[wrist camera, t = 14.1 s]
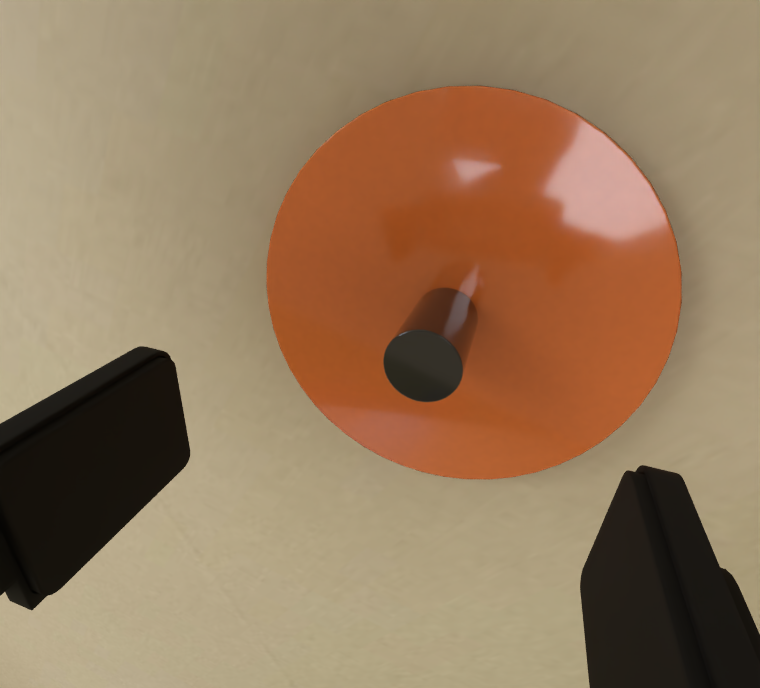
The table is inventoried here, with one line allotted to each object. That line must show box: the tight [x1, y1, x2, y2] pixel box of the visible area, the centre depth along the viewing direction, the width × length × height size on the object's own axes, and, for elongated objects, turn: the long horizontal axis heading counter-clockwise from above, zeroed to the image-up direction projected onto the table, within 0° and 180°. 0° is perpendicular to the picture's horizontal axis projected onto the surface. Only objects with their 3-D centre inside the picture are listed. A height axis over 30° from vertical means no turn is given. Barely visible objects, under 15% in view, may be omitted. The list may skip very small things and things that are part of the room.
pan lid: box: [267, 86, 682, 479], centre depth 17 cm, size 16×16×6 cm
